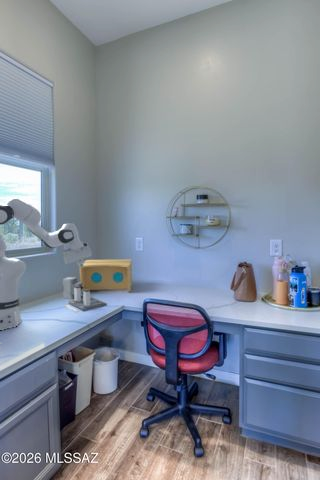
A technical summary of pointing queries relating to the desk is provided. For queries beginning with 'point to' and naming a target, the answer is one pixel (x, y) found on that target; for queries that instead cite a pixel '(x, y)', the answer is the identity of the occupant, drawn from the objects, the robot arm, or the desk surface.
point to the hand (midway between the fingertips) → (81, 266)
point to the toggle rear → (77, 293)
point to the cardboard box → (106, 274)
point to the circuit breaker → (70, 287)
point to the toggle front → (86, 297)
